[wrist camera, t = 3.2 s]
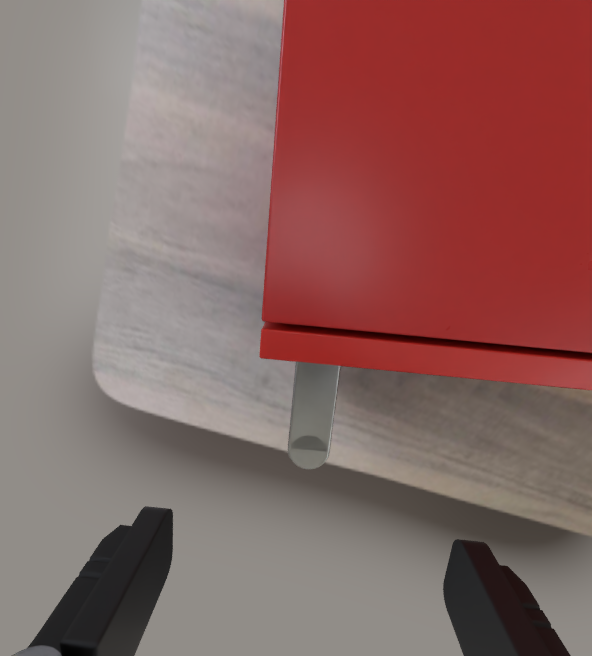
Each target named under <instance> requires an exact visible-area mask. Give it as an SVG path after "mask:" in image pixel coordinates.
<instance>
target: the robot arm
mask: <svg viewBox="0 0 592 656" xmlns="http://www.w3.org/2000/svg"><path fill="white" fill-rule="evenodd" d="M172 544H173V512H172V510H171V509H166V508H155V507H144V508H143V509H142V510H141V512H140V513H139V515H138V516H137V518H136V520H135V521H134V523H133V524H132V526H124V525H120V526H119V527H117V528H116V529H115V530H114V531H112V532H111V533H110V534H109V535H107V536H106V537H105V538H104V539H102V541H101V542H100V544H99V545H98V547H97V548H96V550H95V551H94V553H93V554H92V556H91V557H90V560H89V561H88V562H87V563H86V564H85V566H84V567H83V569H82V570H81V572H80V574H79V576H78V577H77V578H76V579H75V581H74V582H73V583H72V585H71V586H70V588H69V589H68V591H67V592H66V594H65V595H64V596H63V598H62V599H61V601H60V602H59V604H58V605H57V607H56V608H55V610H54V611H53V613H52V614H51V615H50V617H49V618H48V620H47V621H46V623H45V624H44V626H43V627H42V629H41V630H40V632H39V633H38V634H37V636H36V637H35V639H34V640H33V641H32V643H31V644H30V645H29V646H28V648H27V649H24V650H22V651H19V652H17V653H16V654H14V655H12V656H134V655H135V653H136V650H137V648H138V645H139V643H140V640H141V638H142V636H143V634H144V631H145V629H146V626H147V624H148V622H149V619H150V616H151V614H152V612H153V610H154V607H155V605H156V603H157V600H158V598H159V595H160V593H161V591H162V588H163V586H164V583H165V581H166V579H167V575H168V573H169V569H170V565H171V560H172V549H173V545H172ZM443 590H444V600H445V605H446V608H447V611H448V614H449V616H450V619H451V622H452V625H453V627H454V630H455V633H456V636H457V638H458V641H459V644H460V647H461V649H462V652H463V655H464V656H570V654H569V653H568V651H567V649H566V648H565V646H564V645H563V643H562V641H561V640H560V639H559V637H558V635H557V633H556V632H555V630H554V629H552V628H551V624H550V622H549V621H548V619H547V617H546V616H545V614H544V613H543V611H542V610H540V608H539V605H538V603H537V601H536V600H535V598H534V596H533V595H532V593H531V592H530V590H529V588H528V587H527V585H526V584H525V583H524V582H523V581H521V579H520V578H519V577H518V576H517V575H516V574H515V573H514V572H513V571H512V570H511V569H510V568H509V567H508V566H501V565H499V564H498V562H497V560H496V559H495V557H494V555H493V553H492V552H491V550H490V548H489V547H488V545H487V544H486V543H484V542H478V541H468V540H459V539H457V540H455V541H454V542H453V545H452V550H451V554H450V558H449V563H448V566H447V571H446V575H445V579H444V588H443Z"/></svg>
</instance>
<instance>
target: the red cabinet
mask: <svg viewBox="0 0 592 656" xmlns="http://www.w3.org/2000/svg"><path fill="white" fill-rule="evenodd" d="M262 321H264V322H275V323H285V324H295V325H306V326H316V327H326V328H337V329H347V330H358V331H368V332H378V333H389V334H399V335H409V336H420V337H430V338H441V339H451V340H461V341H472V342H482V343H492V344H503V345H513V346H524V347H534V348H544V349H555V350H565V351H575V352H586V353H592V0H284V10H283V24H282V39H281V53H280V67H279V81H278V95H277V109H276V123H275V138H274V152H273V166H272V180H271V194H270V208H269V223H268V237H267V251H266V265H265V279H264V293H263V307H262Z"/></svg>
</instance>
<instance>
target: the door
mask: <svg viewBox="0 0 592 656" xmlns="http://www.w3.org/2000/svg"><path fill="white" fill-rule="evenodd" d="M260 358H264V359H274V360H285V361H295V362H296V366H295V376H294V387H293V398H292V409H291V420H290V431H289V442H288V455H289V457H290V459H291V461H292V462H293V463H294V464H295V465H297V466H299V467H300V468H304V469H314V468H317V467H319V466H321V465H322V464H324V463H325V461H326V460H327V458H328V456H329V451H330V444H331V437H332V429H333V421H334V413H335V406H336V398H337V390H338V382H339V375H340V367H341V366H347V367H357V368H367V369H377V370H388V371H398V372H408V373H419V374H429V375H439V376H450V377H460V378H470V379H481V380H491V381H501V382H511V383H522V384H532V385H542V386H553V387H563V388H573V389H584V390H592V353H586V352H575V351H565V350H555V349H544V348H534V347H524V346H513V345H503V344H492V343H482V342H472V341H461V340H451V339H441V338H430V337H420V336H409V335H399V334H389V333H378V332H368V331H358V330H347V329H337V328H326V327H316V326H306V325H295V324H285V323H275V322H265V324H264V326H263V328H262V330H261V342H260Z"/></svg>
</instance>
